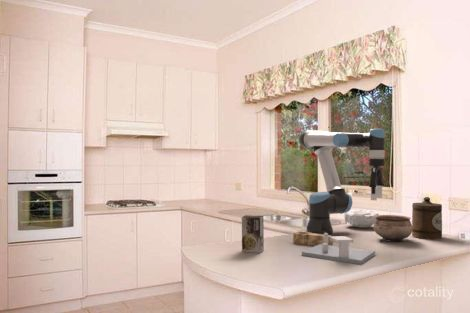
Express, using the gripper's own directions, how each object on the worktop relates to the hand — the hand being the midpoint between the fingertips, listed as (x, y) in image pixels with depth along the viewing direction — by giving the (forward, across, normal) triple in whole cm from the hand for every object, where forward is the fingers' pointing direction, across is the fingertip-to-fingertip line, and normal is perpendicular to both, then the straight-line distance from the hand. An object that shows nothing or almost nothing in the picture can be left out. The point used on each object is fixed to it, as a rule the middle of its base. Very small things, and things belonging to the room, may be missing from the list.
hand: (376, 199), depth 202 cm
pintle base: (+22, -41, +8) cm, 47 cm away
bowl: (+23, +38, +17) cm, 48 cm away
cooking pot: (+22, +6, -7) cm, 24 cm away
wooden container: (+22, +26, -21) cm, 40 cm away
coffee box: (+22, -54, +44) cm, 73 cm away
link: (+22, -25, +25) cm, 42 cm away
